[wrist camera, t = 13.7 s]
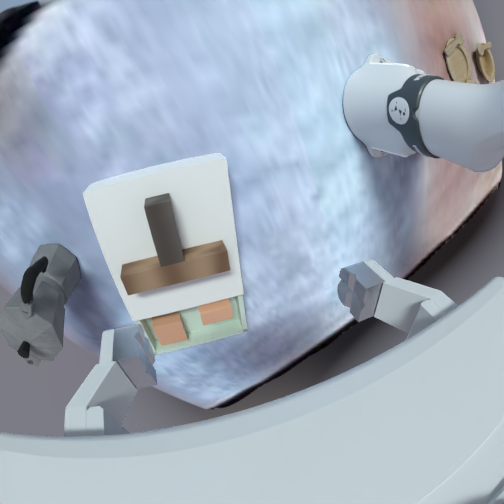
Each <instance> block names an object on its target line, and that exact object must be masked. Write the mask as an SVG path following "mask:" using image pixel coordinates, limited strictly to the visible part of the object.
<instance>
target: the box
mask: <svg viewBox="0 0 504 504" xmlns="http://www.w3.org/2000/svg"><path fill="white" fill-rule="evenodd" d="M228 299H229V301H230V304H231V306H232V312H233V317H234V318H230V319H227V320H223V321H219V322H215V323H211V324H208V325H204V326H203V323H202V320H201V316H200V313H199V309H198V306H196V307H192V308H188V309H184V310H180V311H179V312H180V315H181V318H182V321H183V324H184V326H185V329H186V333H187V338H188V340H185V341H181V342H176V343H172V344H168V345H163V346H161V344H160V342H159V340H158V338H157V336H156V334H155V332H154V330H153V328H152V317H151V318H146V319H142V320H138V321H135V322H136V324H141V325H142V327H143V329H144V336H145V337H147V338H148V339H149V341H150V343H151V346H152V349H153V353H154V355H157V354H162V353H166V352H171V351H175V350H179V349H183V348H188V347H192V346H196V345H200V344H204V343H208V342H211V341H215V340H219V339H223V338H226V337H230V336H233V335H237V334H241V333H244V332H247V331H248V329H247V322H246V315H245V308H244V301H243V294H242V295H238V296H235V297H231V298H228Z"/></svg>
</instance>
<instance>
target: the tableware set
mask: <svg viewBox="0 0 504 504" xmlns="http://www.w3.org/2000/svg"><path fill="white" fill-rule="evenodd" d="M463 42H464V39H462V35H461V33H460V32H458V33H457V34H456V35H455V38H451V39H449V40H448V41H447V44H446V48H445V49H444V53H445V57H446V64H447V67H448V71H449V73H450V76H451V78H452V79H453V81H456V82H464V83H474V84H476V82H475V81H474V80H471V77H472V67H471V62H470V58H469V55H468V52H467V50H466V48H465V47H464V45H463V44H462V43H463ZM491 47H492V45H491V42H487V43H485V44H484V43H481V44H480V43H478V44H477V51H476V63H477V66H478V69H479V71H480V72H481V73H482V74H483V76H484V78H485V79H486V80H487V81H488V82H492V81H493V80H494V76H495V66H494V60H493V57H492V54H491V52H490V50H489V48H491Z"/></svg>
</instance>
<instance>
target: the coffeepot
mask: <svg viewBox="0 0 504 504" xmlns="http://www.w3.org/2000/svg"><path fill="white" fill-rule="evenodd" d="M80 278H81V275H80V270H79V265H78V262H77V258H76V257H75V256H74V255H73V254H72V253H71V252H70V251H69V250H68V249H66V248H65V247H63V246H61V245H60V244H46V245H41V246H39V248H38V250H37V252H36V253H35V255H34V257H33V259H32V261H31V264H30V267H29V268H28V269H27V270H26V271H25V273H24V275H23V280H22V284H21V287H20V288H19V289H18V290H17V292H16V293H15V294H14V295H13V297H12V298H11V299H10V301H9V302H8V303H7V304H6V306H5V307H4V309H3V312H2V314H1V316H0V330H1V332H2V334H3V336H4V337H5V339H6V341H7V342H8V344H9V346H11V347H12V348H14V349H15V350H17V352H18V354H19V355H20V356H21V357H23V358H24V359H25V360H26V361H27V362H28V363H29V364H34V365H35V366H38V365H39V363H40V361H41V360H49V361H53V360H54V359H55V357H56V356H57V355H58V353H59V352H60V350H61V349H62V348H63V331H64V316H65V309H64V304H65V303H66V301H67V299H68V298H69V296H70V294H71V293H72V291H73V289H74V288H75V286H76V285H77V283H78V281H79V280H80Z"/></svg>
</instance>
